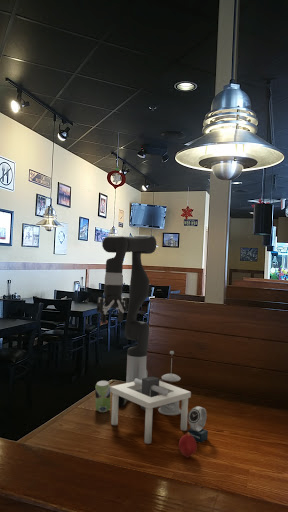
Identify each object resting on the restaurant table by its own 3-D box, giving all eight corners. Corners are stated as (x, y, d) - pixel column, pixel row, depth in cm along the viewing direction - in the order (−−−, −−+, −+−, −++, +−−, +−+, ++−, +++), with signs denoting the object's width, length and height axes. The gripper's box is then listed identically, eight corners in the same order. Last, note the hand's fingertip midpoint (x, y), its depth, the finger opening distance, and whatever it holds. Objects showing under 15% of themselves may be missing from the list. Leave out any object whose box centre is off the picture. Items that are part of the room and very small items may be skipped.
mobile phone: (124, 396, 170) (132, 385, 185) (117, 395, 171) (125, 384, 185) (123, 408, 170) (131, 395, 185) (117, 407, 171) (125, 395, 186)
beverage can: (111, 408, 168) (112, 379, 168) (108, 414, 161) (109, 384, 161) (96, 407, 169) (97, 378, 169) (92, 413, 161) (94, 383, 162)
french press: (174, 417, 161) (177, 354, 162) (149, 410, 168) (152, 350, 168) (185, 409, 170) (187, 350, 170) (161, 403, 176) (163, 346, 176)
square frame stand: (149, 411, 166) (151, 372, 166) (189, 429, 150) (191, 386, 150) (108, 423, 152) (110, 381, 152) (147, 444, 136) (149, 397, 136)
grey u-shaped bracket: (151, 405, 154) (153, 376, 154) (158, 407, 151) (159, 378, 152) (140, 408, 150) (142, 378, 151) (147, 410, 148) (148, 380, 148)
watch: (184, 439, 141) (185, 408, 141) (196, 433, 147) (198, 402, 147) (198, 445, 137) (199, 412, 137) (210, 437, 143) (211, 406, 143)
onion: (176, 452, 131) (177, 428, 131) (194, 452, 131) (195, 428, 131) (179, 461, 125) (180, 435, 125) (198, 461, 125) (199, 435, 126)
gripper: (121, 282, 175) (119, 320, 175) (94, 283, 166) (92, 322, 166) (132, 284, 170) (130, 322, 169) (104, 284, 160) (103, 324, 160)
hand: (111, 322), depth 167 cm, fingers open, 8 cm apart
